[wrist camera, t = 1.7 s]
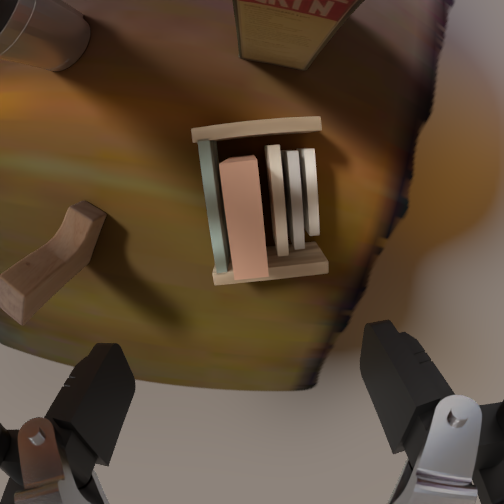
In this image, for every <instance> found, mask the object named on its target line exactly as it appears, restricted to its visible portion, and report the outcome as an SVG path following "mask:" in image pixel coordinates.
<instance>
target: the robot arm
mask: <svg viewBox="0 0 504 504" xmlns="http://www.w3.org/2000/svg"><path fill="white" fill-rule="evenodd" d="M89 39H90V26H89V24H88V23H87V22H86V21H85V20H84V19H83V14H82V13H80V12H79V11H77V10H76V9H74V8H73V7H71V6H69V5H68V4H66V3H65V2H63V1H61V0H0V59H2V60H7V61H12V62H17V63H21V64H26V65H30V66H34V67H38V68H43V69H46V70H50V71H61V70H64V69H66V68H68V67H70V66H71V65H72V64H74V63H75V62H76V61H77V60H78V59H79V58H80V56H81V55H82V54H83V52H84V51H85V49H86V47H87V45H88V42H89ZM360 370H361V375H362V378H363V380H364V382H365V385H366V388H367V390H368V392H369V395H370V397H371V399H372V402H373V404H374V407H375V409H376V412H377V414H378V417H379V419H380V421H381V424H382V427H383V429H384V432H385V434H386V437H387V439H388V442H389V445H390V447H391V450H392V453H393V454H396V453H399V452H402V451H405V452H406V454H407V456H408V459H407V460H406V462H405V465H404V468H403V470H402V472H401V475H400V477H399V479H398V482H397V484H396V486H395V488H394V490H393V492H392V495H391V497H390V499H389V501H388V503H387V504H475V503H476V499H477V493H478V496H479V499H480V502H481V504H504V400H503V402H500V403H493V404H486V405H478V404H477V403H476V402H475V401H474V400H473V399H471V398H469V397H467V396H464V395H455V394H454V392H453V391H452V389H451V388H450V386H449V385H448V383H447V382H446V380H445V379H444V377H443V376H442V374H441V373H440V372H439V370H438V369H437V367H436V366H435V364H434V363H433V362H431V359H430V357H429V356H428V355H427V353H425V350H424V349H423V347H422V346H421V345H420V343H419V342H418V341H417V339H415V338H413V337H412V336H410V335H409V334H407V333H406V332H402V333H399V332H398V331H397V330H396V328H395V327H394V325H393V324H392V322H391V321H390V320H383V321H378V322H373V323H367V324H366V325H365V328H364V335H363V342H362V349H361V357H360ZM134 392H135V379H134V376H133V373H132V371H131V369H130V367H129V365H128V362H127V360H126V358H125V356H124V353H123V351H122V349H121V347H120V345H119V344H117V343H97V344H96V345H95V346H94V347H93V349H92V350H91V352H90V354H89V355H88V357H85V358H84V359H83V360H81V361H80V362H79V363H78V364H77V365H76V366H75V367H74V369H73V370H72V372H71V374H70V376H69V378H68V379H67V380H66V382H65V383H64V387H62V388H61V390H60V392H59V393H58V395H57V397H56V398H55V400H54V402H53V403H52V405H51V407H50V409H49V410H48V412H47V414H46V416H45V417H44V418H43V417H36V418H32V419H30V420H28V421H27V422H25V423H24V424H23V425H22V427H21V428H20V430H6V429H5V428H4V427H3V426H2V425H1V423H0V468H1V469H2V470H3V471H4V472H5V473H6V474H7V475H8V476H10V478H9V480H8V483H7V485H6V488H5V491H4V493H3V496H2V499H1V502H0V504H109V502H108V499H107V498H106V495H105V493H104V491H103V488H102V486H101V484H100V481H99V479H98V476H97V474H96V472H95V471H94V470H93V468H94V466H95V463H96V464H100V465H104V466H109V463H110V460H111V457H112V454H113V451H114V448H115V445H116V442H117V439H118V436H119V433H120V431H121V428H122V425H123V422H124V420H125V417H126V414H127V412H128V409H129V406H130V403H131V401H132V398H133V395H134ZM472 480H473V483H474V485H472Z"/></svg>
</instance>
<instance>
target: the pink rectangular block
mask: <svg viewBox="0 0 504 504" xmlns="http://www.w3.org/2000/svg"><path fill="white" fill-rule="evenodd" d="M219 169H220V177H221V185H222V193H223V200H224V208H225V215H226V223H227V230H228V237H229V245H230V252H231V259H232V266H233V273H234V280H242V279H252V278H261V277H269V273H268V262H267V251H266V241H265V231H264V221H263V211H262V201H261V191H260V181H259V172H258V162H257V159H256V157H255V156H254V155H245V156H236V157H229V158H228V159H226V160H224V161H223V162H221V163H220V164H219Z"/></svg>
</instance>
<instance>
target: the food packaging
mask: <svg viewBox="0 0 504 504" xmlns="http://www.w3.org/2000/svg"><path fill="white" fill-rule="evenodd" d="M363 1H364V0H233V8H234V15H235V22H236V30H237V38H238V48H239V58H242V59H246V60H251V61H257V62H263V63H268V64H274V65H278V66H283V67H288V68H293V69H297V70H307V69H308V68H309V66H310V65H311V64H312V62H313V61H314V59H315V58H316V56H317V55H318V54H319V53H320V51H321V50H322V49H323V48H324V46H325V45H326V44H327V43H328V42H329V40H330V39H331V38H332V37H333V35H334V34H335V33H336V32H337V30H338V29H339V28H340V27H341V26H342V25H343V23H344V22H345V21H346V20H347V19H348V18H349V16H350V15H351V14H352V13H353V12H354V11H355V10H356V9H357V8H358V7H359V5H360V4H361V3H362V2H363Z"/></svg>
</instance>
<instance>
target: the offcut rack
mask: <svg viewBox="0 0 504 504" xmlns="http://www.w3.org/2000/svg"><path fill="white" fill-rule="evenodd" d="M321 130H322V127H321V117H320V116H314V117H291V118H276V119H263V120H253V121H243V122H234V123H226V124H219V125H212V126H205V127H199V128H192V129H191V132H192V141H193V143H198V150H199V157H200V165H201V172H202V180H203V187H204V194H205V201H206V208H207V215H208V221H209V228H210V234H211V241H212V247H213V253H214V259H215V266H214V269H213V273H212V274H213V280H214V285H223V284H234V283H244V282H254V281H264V280H273V279H282V278H291V277H300V276H309V275H318V274H326V273H328V260H327V258H326V257H325V255H324V254H323V252H322V251H321V249H320V248H319V246H318V245H317V243H316V242H306V243H305V239H304V228H305V230H306V231H307V233H308V234H309V236H315V235H320V230H319V207H318V189H317V174H316V161H315V149H314V148H297V150H281V153H280V145H266V146H264V149H265V159H266V168H267V178H268V189H269V199H270V209H271V220H272V231H273V239H274V243H275V246H268V247H266V251H267V262H268V273H269V277H261V278H252V279H242V280H234V273H233V266H232V259H231V252H230V245H229V237H228V230H227V223H226V215H225V208H224V200H223V193H222V185H221V177H220V169H219V158H218V150H217V142H216V141H222V140H230V139H238V138H247V137H257V136H268V135H280V134H295V133H310V132H315V131H321ZM281 158H282V163H281ZM282 169H283V174H282ZM283 180H284V185H283ZM284 191H285V196H284ZM285 203H286V209H285ZM286 216H287V221H286ZM287 229H288V235H289V238H290V240H291V242H292V244H288V235H287Z"/></svg>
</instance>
